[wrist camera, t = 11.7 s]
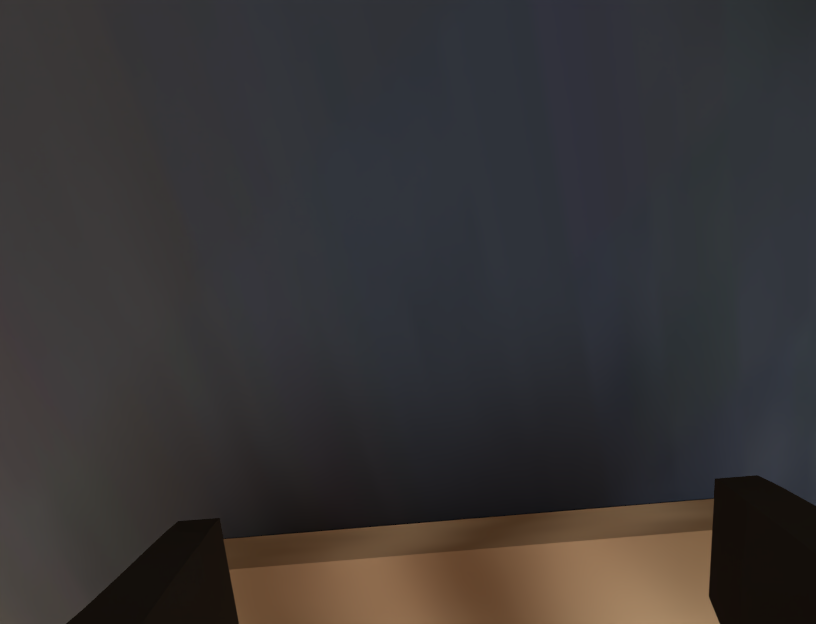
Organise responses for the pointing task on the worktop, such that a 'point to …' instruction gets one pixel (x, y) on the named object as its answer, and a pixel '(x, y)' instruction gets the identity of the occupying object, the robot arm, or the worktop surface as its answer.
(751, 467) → the worktop surface
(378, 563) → the base board
